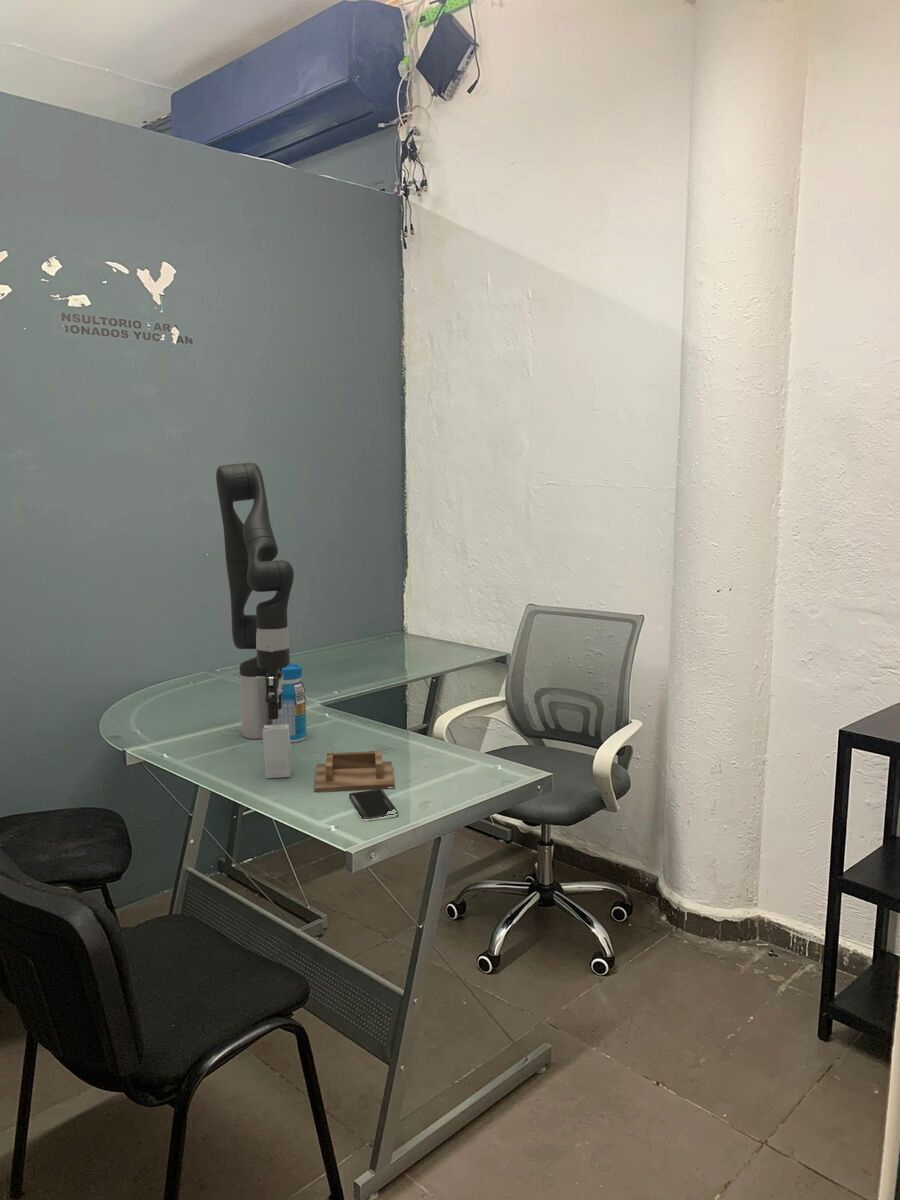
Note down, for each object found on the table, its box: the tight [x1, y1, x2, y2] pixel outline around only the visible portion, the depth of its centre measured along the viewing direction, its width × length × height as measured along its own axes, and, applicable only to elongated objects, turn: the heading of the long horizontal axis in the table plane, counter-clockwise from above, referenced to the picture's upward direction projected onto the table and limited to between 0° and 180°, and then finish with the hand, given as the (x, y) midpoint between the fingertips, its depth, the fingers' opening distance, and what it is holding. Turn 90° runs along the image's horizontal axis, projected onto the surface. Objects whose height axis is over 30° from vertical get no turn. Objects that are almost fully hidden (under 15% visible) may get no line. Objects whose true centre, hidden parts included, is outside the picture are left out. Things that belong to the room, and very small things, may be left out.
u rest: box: [313, 750, 395, 793], centre depth 203 cm, size 16×18×4 cm
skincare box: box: [262, 724, 293, 779], centre depth 205 cm, size 6×4×12 cm
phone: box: [348, 789, 399, 819], centre depth 186 cm, size 8×1×15 cm
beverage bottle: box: [276, 663, 307, 743], centre depth 233 cm, size 8×8×20 cm
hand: (275, 714), depth 203 cm, fingers open, 8 cm apart
